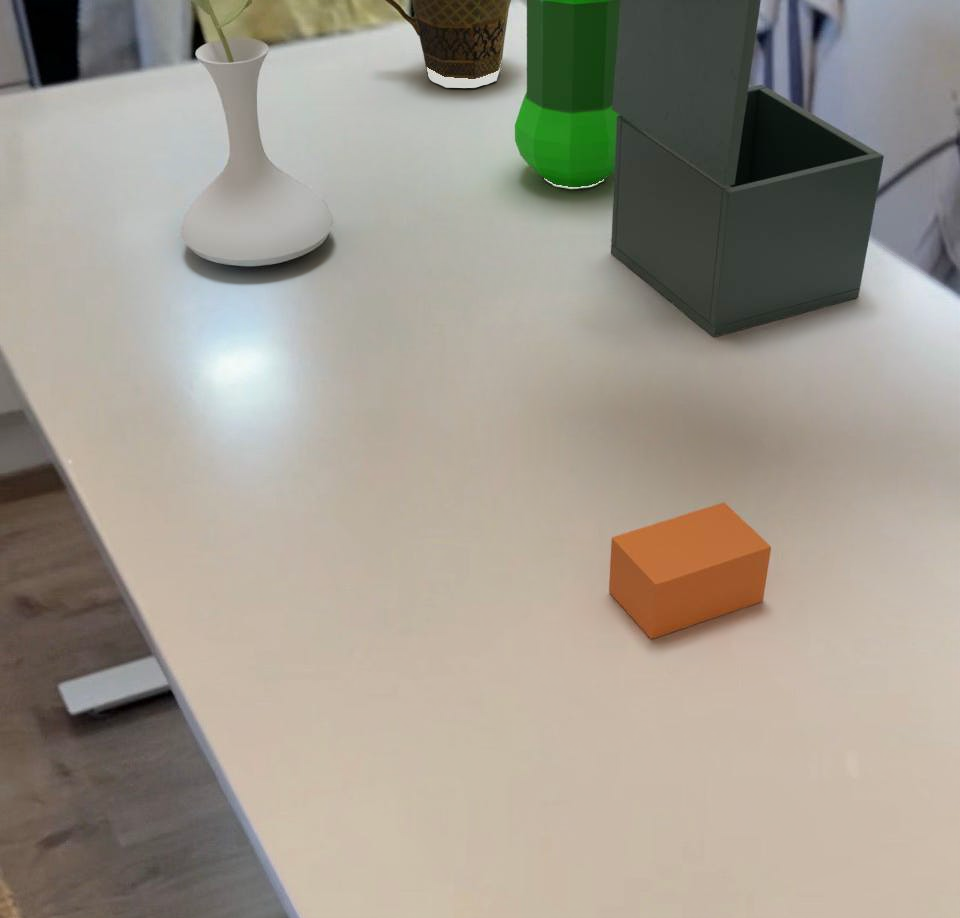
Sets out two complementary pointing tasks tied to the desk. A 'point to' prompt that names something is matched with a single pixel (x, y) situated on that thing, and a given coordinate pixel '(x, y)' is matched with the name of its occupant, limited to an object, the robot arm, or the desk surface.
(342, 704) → the desk surface
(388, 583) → the desk surface
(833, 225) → the bin
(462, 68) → the ceramic cup
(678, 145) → the bin lid
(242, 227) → the flower in vase
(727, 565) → the block
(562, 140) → the plastic bottle
